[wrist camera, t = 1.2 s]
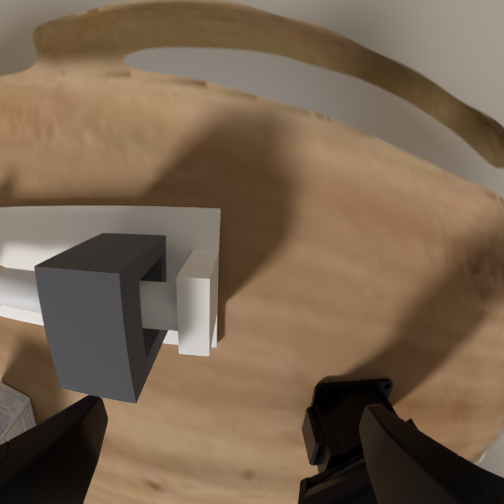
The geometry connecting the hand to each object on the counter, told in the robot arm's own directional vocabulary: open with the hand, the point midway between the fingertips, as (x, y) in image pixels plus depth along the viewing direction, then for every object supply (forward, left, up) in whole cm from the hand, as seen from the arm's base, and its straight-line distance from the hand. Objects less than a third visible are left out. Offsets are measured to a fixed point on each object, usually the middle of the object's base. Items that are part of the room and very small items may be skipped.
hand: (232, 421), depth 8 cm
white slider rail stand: (+12, 0, -12) cm, 17 cm away
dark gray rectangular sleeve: (+6, 0, -11) cm, 12 cm away
